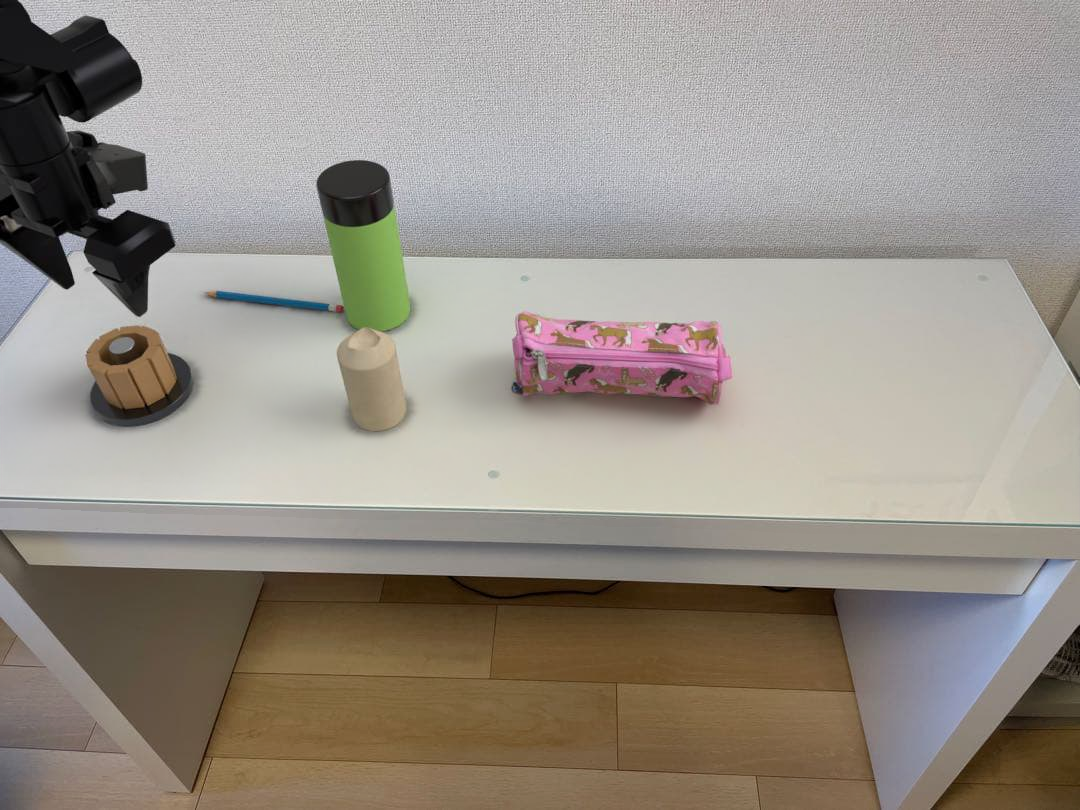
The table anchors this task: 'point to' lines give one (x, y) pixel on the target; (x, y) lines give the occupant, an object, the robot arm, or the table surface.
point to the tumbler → (365, 243)
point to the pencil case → (619, 357)
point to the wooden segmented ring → (132, 369)
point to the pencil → (276, 301)
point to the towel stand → (124, 354)
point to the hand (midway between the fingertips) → (105, 300)
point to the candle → (372, 379)
